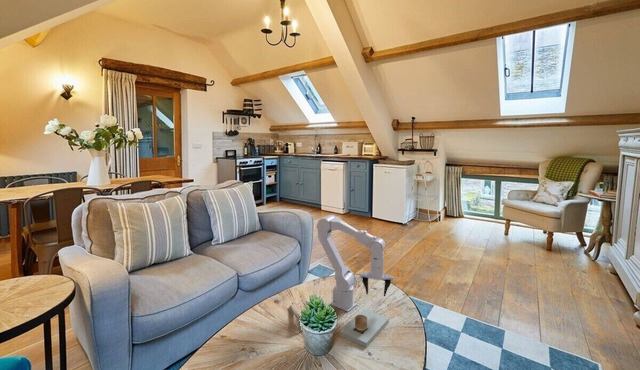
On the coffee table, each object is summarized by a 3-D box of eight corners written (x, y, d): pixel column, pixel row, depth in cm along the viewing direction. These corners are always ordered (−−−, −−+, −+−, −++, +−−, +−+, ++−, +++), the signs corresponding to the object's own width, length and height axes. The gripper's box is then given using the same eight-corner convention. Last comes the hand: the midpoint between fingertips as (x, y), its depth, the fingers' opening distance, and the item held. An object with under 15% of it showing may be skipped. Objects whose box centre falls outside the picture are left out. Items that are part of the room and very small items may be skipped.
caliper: (302, 332, 128) (302, 318, 127) (300, 332, 128) (300, 318, 127) (291, 306, 147) (291, 293, 146) (289, 306, 147) (289, 294, 146)
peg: (352, 330, 129) (353, 315, 128) (363, 328, 130) (364, 314, 129) (357, 338, 124) (357, 322, 123) (368, 336, 125) (369, 320, 124)
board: (339, 335, 126) (340, 330, 125) (364, 312, 142) (364, 308, 141) (366, 347, 119) (366, 342, 118) (388, 322, 134) (388, 318, 134)
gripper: (393, 263, 140) (392, 291, 142) (361, 260, 143) (360, 288, 145) (393, 270, 133) (392, 299, 135) (359, 266, 136) (359, 295, 138)
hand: (375, 294), depth 140 cm, fingers open, 7 cm apart
